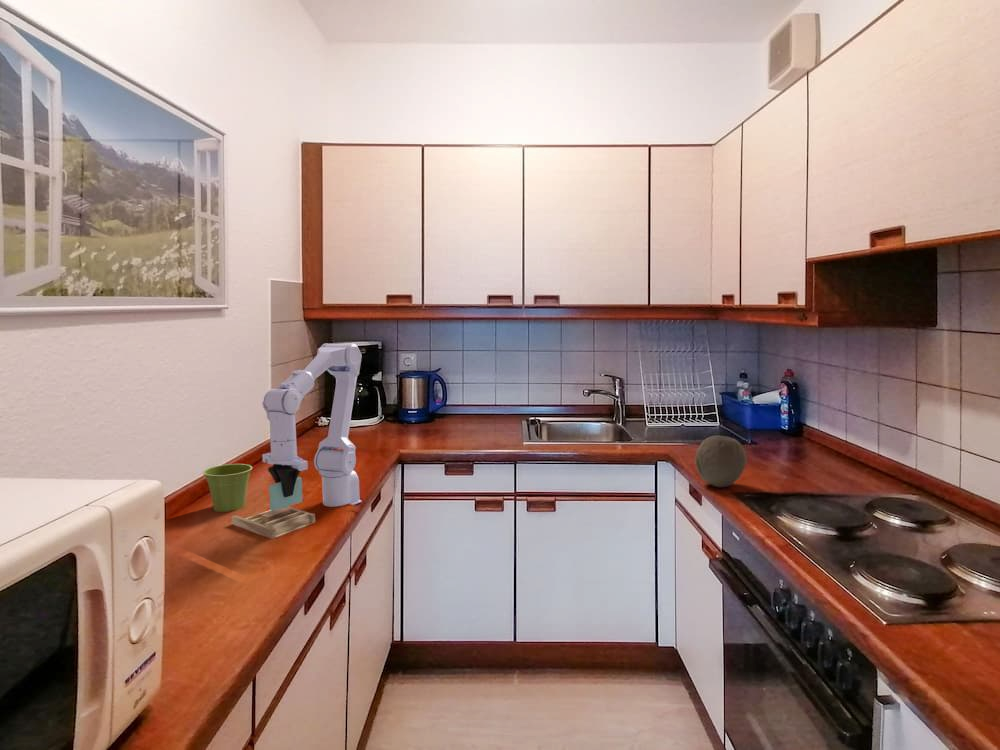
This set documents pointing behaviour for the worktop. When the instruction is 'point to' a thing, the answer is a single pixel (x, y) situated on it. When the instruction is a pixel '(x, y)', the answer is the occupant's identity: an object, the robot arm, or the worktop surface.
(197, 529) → the worktop surface
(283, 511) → the offcut upper
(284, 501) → the teal rectangular plate
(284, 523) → the rack
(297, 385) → the robot arm
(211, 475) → the plant pot
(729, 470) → the cantaloupe
